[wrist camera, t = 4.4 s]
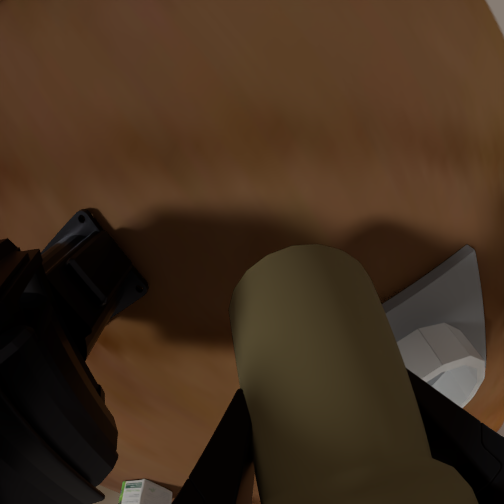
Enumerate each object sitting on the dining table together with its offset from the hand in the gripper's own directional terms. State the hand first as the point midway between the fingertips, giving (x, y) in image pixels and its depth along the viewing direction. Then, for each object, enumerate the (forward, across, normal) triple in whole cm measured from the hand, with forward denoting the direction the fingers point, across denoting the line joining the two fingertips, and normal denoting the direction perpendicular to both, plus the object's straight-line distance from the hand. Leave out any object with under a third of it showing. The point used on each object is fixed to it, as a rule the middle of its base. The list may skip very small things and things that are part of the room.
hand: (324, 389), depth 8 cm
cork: (+4, 0, 0) cm, 4 cm away
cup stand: (+10, -11, +11) cm, 18 cm away
